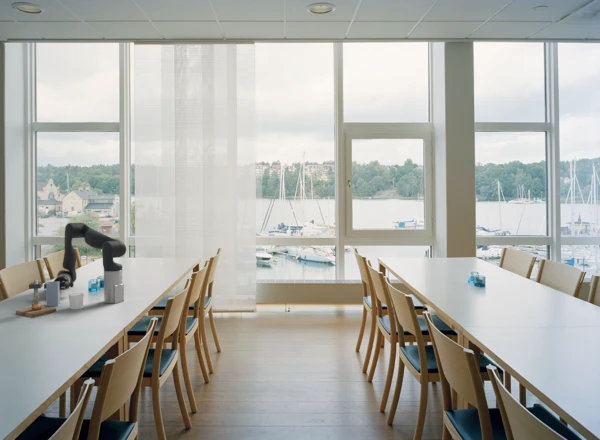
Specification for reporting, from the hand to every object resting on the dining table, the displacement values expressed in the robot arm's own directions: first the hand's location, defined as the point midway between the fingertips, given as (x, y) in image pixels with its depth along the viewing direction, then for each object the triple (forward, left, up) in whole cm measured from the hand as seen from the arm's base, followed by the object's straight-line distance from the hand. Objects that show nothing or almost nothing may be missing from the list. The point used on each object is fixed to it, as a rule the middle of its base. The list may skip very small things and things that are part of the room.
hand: (56, 287), depth 231 cm
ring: (-13, +21, +5) cm, 25 cm away
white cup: (-22, +6, -7) cm, 24 cm away
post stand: (-13, +21, -7) cm, 25 cm away
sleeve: (-7, +8, -7) cm, 13 cm away
